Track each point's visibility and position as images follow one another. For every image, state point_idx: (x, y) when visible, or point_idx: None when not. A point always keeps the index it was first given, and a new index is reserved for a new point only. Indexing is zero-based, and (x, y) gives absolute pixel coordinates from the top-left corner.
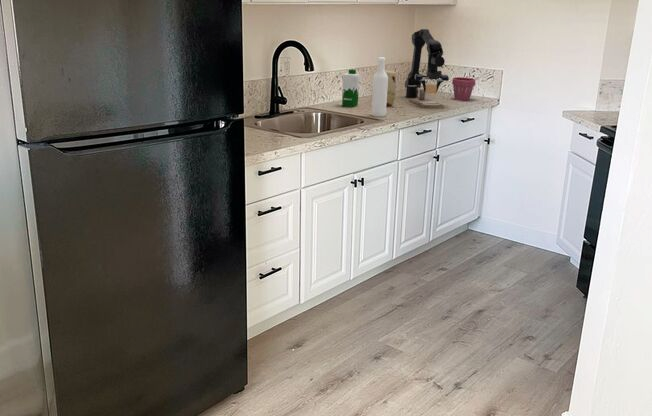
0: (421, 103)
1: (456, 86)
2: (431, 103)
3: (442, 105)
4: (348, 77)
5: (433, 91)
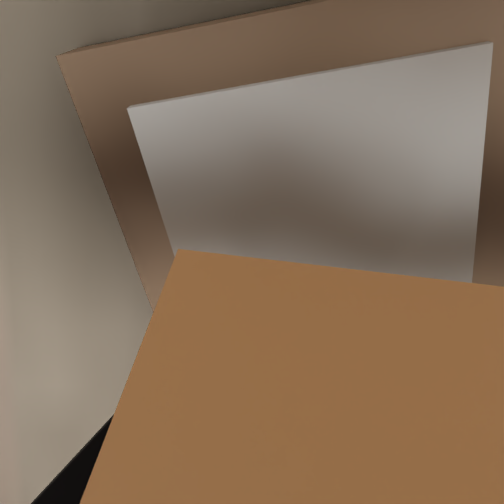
0: (480, 227)
1: None
2: (292, 189)
3: (75, 50)
4: None
5: (289, 306)
